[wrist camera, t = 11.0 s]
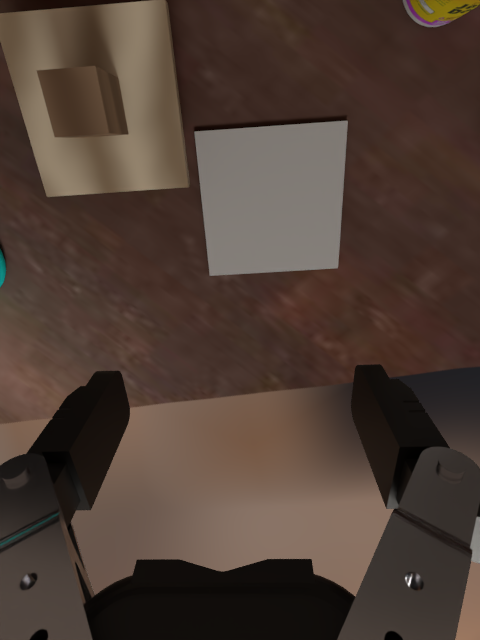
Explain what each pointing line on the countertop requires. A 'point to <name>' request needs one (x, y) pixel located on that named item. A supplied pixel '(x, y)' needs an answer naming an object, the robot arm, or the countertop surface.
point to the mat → (272, 196)
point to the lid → (98, 96)
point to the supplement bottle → (438, 10)
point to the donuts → (2, 268)
